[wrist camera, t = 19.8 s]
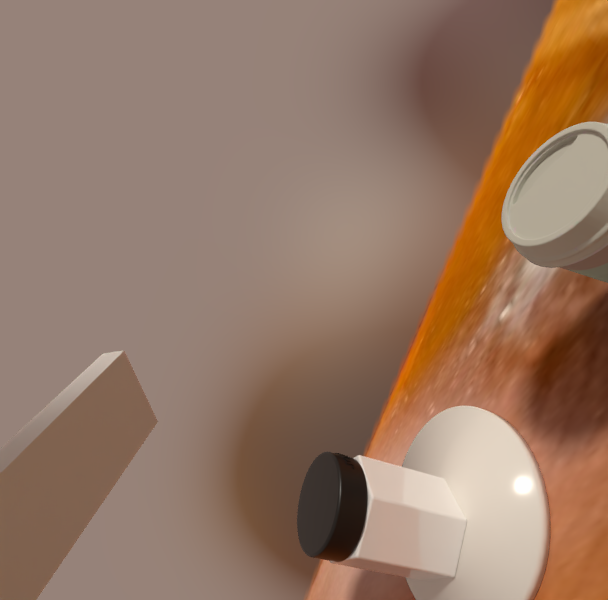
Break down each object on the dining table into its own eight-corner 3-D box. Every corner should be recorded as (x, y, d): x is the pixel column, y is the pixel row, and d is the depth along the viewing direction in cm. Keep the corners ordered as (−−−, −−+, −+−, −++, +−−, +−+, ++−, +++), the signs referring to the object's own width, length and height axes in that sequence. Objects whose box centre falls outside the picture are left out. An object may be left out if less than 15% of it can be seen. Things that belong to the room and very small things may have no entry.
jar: (462, 470, 38) (344, 436, 35) (476, 577, 33) (339, 550, 30) (403, 491, 44) (300, 464, 41) (407, 583, 39) (289, 561, 36)
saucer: (442, 383, 46) (435, 381, 46) (589, 466, 29) (578, 463, 29) (383, 534, 47) (375, 533, 46) (491, 705, 29) (480, 704, 29)
